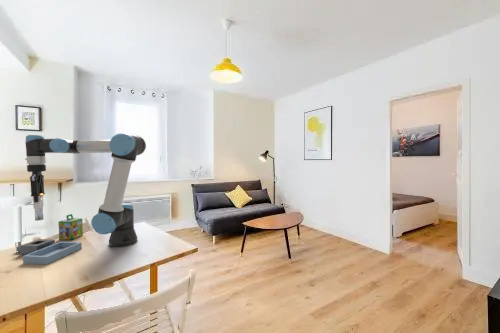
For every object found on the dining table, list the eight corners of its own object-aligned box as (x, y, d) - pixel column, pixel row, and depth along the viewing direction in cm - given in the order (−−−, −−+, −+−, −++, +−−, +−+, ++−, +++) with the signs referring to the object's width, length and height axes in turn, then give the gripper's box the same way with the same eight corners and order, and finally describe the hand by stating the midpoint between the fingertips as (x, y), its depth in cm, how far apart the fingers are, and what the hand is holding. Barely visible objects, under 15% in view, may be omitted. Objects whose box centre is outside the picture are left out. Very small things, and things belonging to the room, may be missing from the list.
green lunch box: (72, 240, 147) (71, 216, 147) (58, 240, 148) (57, 216, 147) (83, 235, 156) (82, 213, 156) (70, 235, 157) (69, 213, 157)
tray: (60, 247, 134) (60, 241, 134) (81, 248, 133) (81, 242, 133) (23, 263, 114) (22, 256, 114) (47, 264, 113) (47, 257, 113)
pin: (35, 219, 129) (33, 193, 128) (46, 218, 131) (44, 193, 131) (32, 221, 125) (30, 194, 124) (43, 220, 127) (42, 194, 127)
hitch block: (29, 247, 135) (29, 238, 135) (55, 248, 134) (54, 239, 133) (10, 254, 125) (9, 245, 125) (37, 255, 124) (36, 246, 123)
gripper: (32, 164, 133) (35, 205, 134) (20, 164, 117) (23, 211, 118) (49, 163, 137) (52, 204, 137) (40, 164, 121) (42, 209, 122)
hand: (38, 207), depth 128 cm, fingers closed on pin, 5 cm apart
